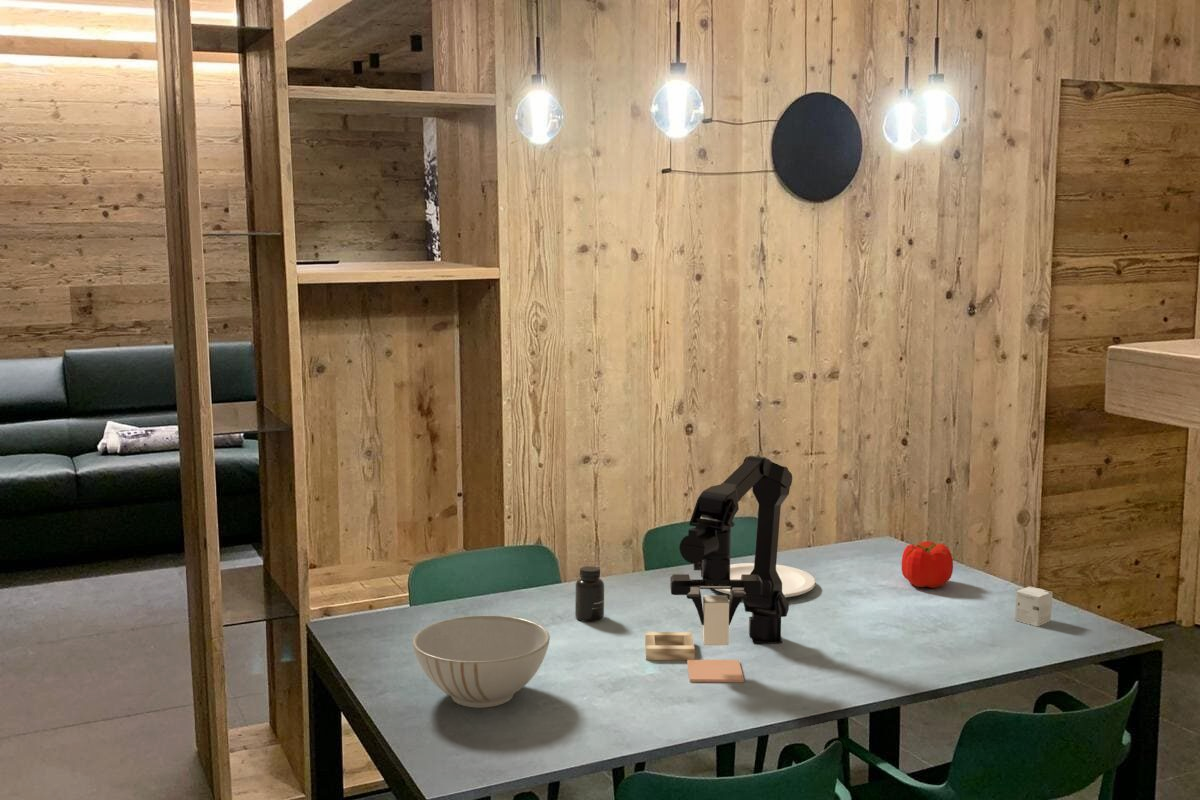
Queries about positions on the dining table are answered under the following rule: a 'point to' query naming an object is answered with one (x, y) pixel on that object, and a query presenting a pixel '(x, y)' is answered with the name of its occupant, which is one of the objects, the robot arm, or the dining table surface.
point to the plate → (790, 577)
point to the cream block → (716, 620)
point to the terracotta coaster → (714, 671)
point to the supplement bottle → (589, 595)
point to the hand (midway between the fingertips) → (715, 624)
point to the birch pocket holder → (669, 646)
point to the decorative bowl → (481, 657)
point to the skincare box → (1033, 606)
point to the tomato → (927, 564)
